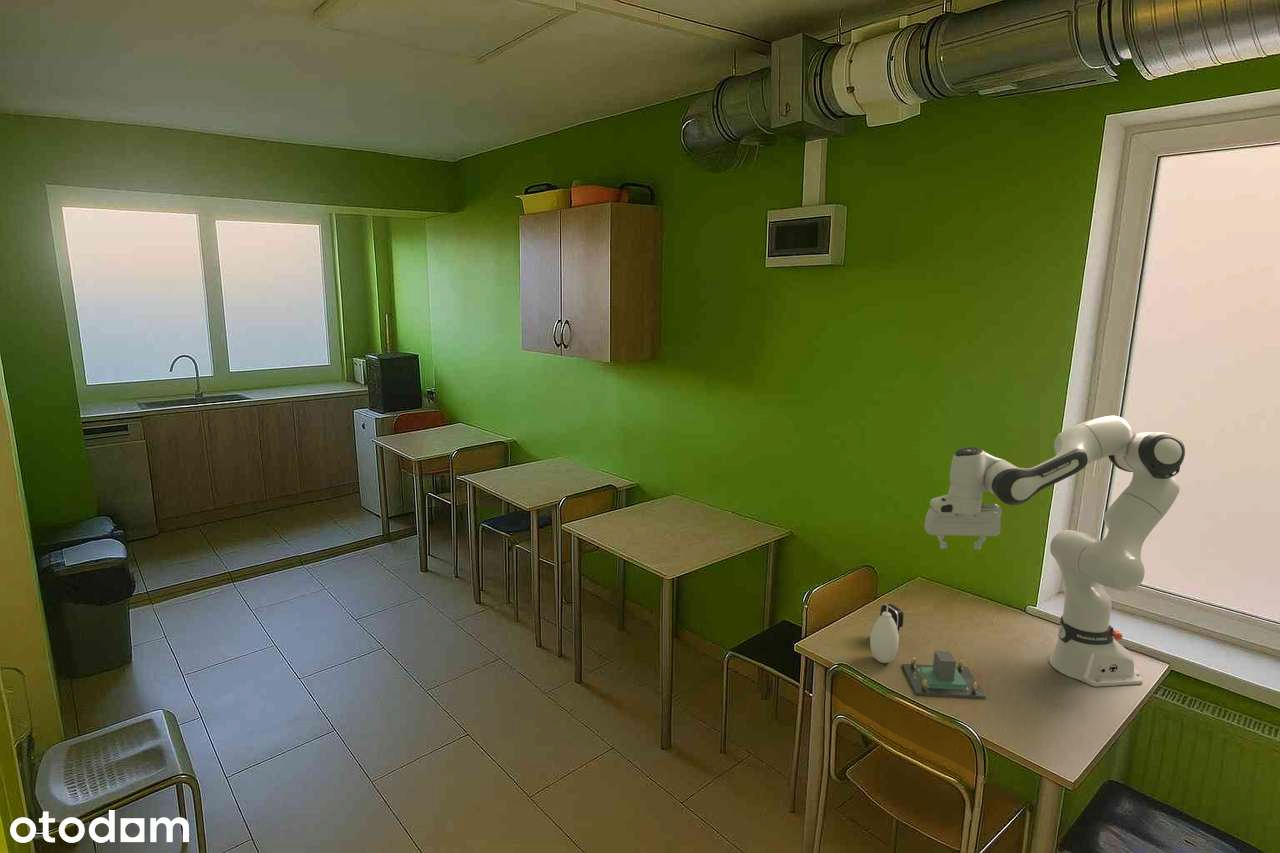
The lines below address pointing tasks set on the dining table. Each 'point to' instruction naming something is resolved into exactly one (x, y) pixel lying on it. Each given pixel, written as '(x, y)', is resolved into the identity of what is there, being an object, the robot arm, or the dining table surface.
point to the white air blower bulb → (884, 638)
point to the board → (943, 683)
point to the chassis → (922, 687)
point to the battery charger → (894, 614)
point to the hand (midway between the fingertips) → (960, 548)
